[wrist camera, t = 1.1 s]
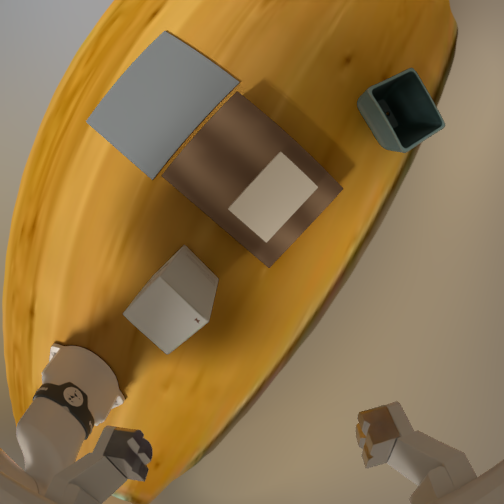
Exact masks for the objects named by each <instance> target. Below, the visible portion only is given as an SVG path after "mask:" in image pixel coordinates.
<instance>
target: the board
mask: <svg viewBox="0 0 504 504" xmlns="http://www.w3.org/2000/svg"><path fill="white" fill-rule="evenodd" d="M279 152H282V153H283V154H284V155H285V156H286V157H287V158H288V159H289V160H291V161H292V162H293V163H294V164H295V165H296V166H297V167H298V168H299V169H300V170H301V171H302V172H303V173H304V174H305V175H306V176H307V177H308V178H309V179H311V180H312V181H313V182H314V183H315V184H316V185H317V186H318V188H317V189H316V190H315V191H314V192H313V193H312V195H311V196H310V197H309V198H308V199H307V200H306V201H305V202H304V203H303V204H302V205H301V206H300V207H299V208H298V210H297V211H296V212H295V213H294V214H293V215H292V216H291V217H290V218H289V219H288V220H287V221H286V222H285V223H284V225H283V226H282V227H281V228H280V229H279V230H278V231H277V232H276V233H275V234H274V235H273V236H272V237H271V238H270V240H269V241H268V242H267V243H266V242H265V241H264V240H263V239H261V238H260V237H259V236H258V235H257V234H256V233H255V232H254V231H252V230H251V229H250V228H249V227H248V226H247V225H246V224H244V223H243V222H242V221H241V220H240V219H239V218H237V217H236V216H235V215H234V214H233V213H232V212H231V211H229V210H228V208H229V206H230V205H231V204H232V203H233V202H234V201H235V200H236V199H237V197H238V196H239V195H240V194H241V193H242V192H243V191H244V190H245V189H246V187H247V186H248V185H249V184H250V183H251V182H252V181H253V180H254V179H255V178H256V177H257V175H258V174H259V173H260V172H261V171H262V170H263V169H264V168H265V167H266V166H267V165H268V164H269V163H270V161H271V160H272V159H273V158H274V157H275V156H276V155H277V154H278V153H279ZM162 177H163V178H165V179H166V180H167V181H168V182H169V183H170V184H172V185H173V186H174V187H175V188H176V189H177V190H179V191H180V192H181V193H182V194H183V195H184V196H186V197H187V198H188V199H189V200H190V201H191V202H193V203H194V204H195V205H196V206H197V207H198V208H200V209H201V210H202V211H203V212H204V213H205V214H207V215H208V216H209V217H210V218H211V219H212V220H214V221H215V222H216V223H217V224H218V225H219V226H221V227H222V228H223V229H224V230H225V231H226V232H228V233H229V234H230V235H231V236H232V237H233V238H235V239H236V240H237V241H238V242H239V243H240V244H242V245H243V246H244V247H245V248H246V249H247V250H249V251H250V252H251V253H252V254H253V255H254V256H256V257H257V258H258V259H259V260H260V261H261V262H263V263H264V264H265V265H266V266H267V267H268V268H270V267H271V266H272V265H273V263H274V262H275V261H276V260H277V259H278V258H279V257H280V256H281V255H282V254H283V253H284V252H285V251H286V250H287V249H288V248H289V247H290V246H291V245H292V244H293V242H294V241H295V240H296V239H297V238H298V237H299V236H300V235H301V234H302V233H303V232H304V231H305V230H306V229H307V228H308V227H309V226H310V224H311V223H312V222H313V221H314V220H315V219H316V218H317V217H318V216H319V215H320V214H321V213H322V212H323V210H324V209H325V208H326V207H327V206H328V205H329V204H330V203H331V202H332V201H333V200H334V199H335V198H336V196H337V195H338V194H339V193H340V192H341V191H342V190H343V188H342V187H341V186H340V185H339V184H338V182H337V181H336V180H335V179H334V178H333V177H332V176H331V175H330V174H329V173H328V172H327V171H326V170H325V169H324V168H323V167H322V166H321V165H320V164H319V163H318V162H317V161H316V160H315V159H314V158H313V157H312V156H311V155H310V154H309V153H307V152H306V151H305V150H304V149H303V148H302V147H301V146H300V145H299V144H298V143H297V142H296V141H295V140H294V139H293V138H291V137H290V136H289V135H288V134H287V133H286V132H285V131H284V130H283V129H282V128H280V127H279V126H278V125H277V124H276V123H275V122H274V121H272V120H271V119H270V118H269V117H268V116H267V115H265V114H264V113H263V112H262V111H261V110H260V109H258V108H257V107H256V106H255V105H254V104H252V103H251V102H250V101H249V100H247V99H246V98H245V97H244V96H242V95H241V94H240V93H239V92H236V93H235V94H234V95H233V96H232V97H231V98H230V99H229V100H228V101H227V102H226V103H225V104H224V105H223V106H222V107H221V108H220V109H219V110H218V111H217V112H216V113H215V114H214V115H213V117H212V118H211V119H210V120H209V121H208V122H207V123H206V124H205V125H204V126H203V127H202V129H201V130H200V131H199V132H198V133H197V134H196V135H195V136H194V137H193V139H192V140H191V141H190V142H189V143H188V144H187V146H186V147H185V148H184V149H183V150H182V151H181V153H180V154H179V155H178V156H177V157H176V159H175V160H174V161H173V162H172V163H171V165H170V166H169V167H168V168H167V170H166V171H165V172H164V173H163V175H162Z"/></svg>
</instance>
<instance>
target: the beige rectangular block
mask: <svg viewBox="0 0 504 504" xmlns="http://www.w3.org/2000/svg"><path fill="white" fill-rule="evenodd" d="M317 188H318V186H317V185H316V184H315V183H314V182H313V181H312V180H311V179H309V178H308V177H307V176H306V175H305V174H304V173H303V172H302V171H301V170H300V169H299V168H298V167H297V166H296V165H295V164H294V163H293V162H292V161H291V160H289V159H288V158H287V157H286V156H285V155H284V154H283V153H282V152H279V153H278V154H277V155H276V156H275V157H274V158H273V159H272V160H271V161H270V163H269V164H268V165H267V166H266V167H265V168H264V169H263V170H262V171H261V172H260V173H259V174H258V175H257V177H256V178H255V179H254V180H253V181H252V182H251V183H250V184H249V185H248V186H247V187H246V189H245V190H244V191H243V192H242V193H241V194H240V195H239V196H238V197H237V199H236V200H235V201H234V202H233V203H232V204H231V205H230V206H229V208H228V210H229V211H231V212H232V213H233V214H234V215H235V216H236V217H237V218H239V219H240V220H241V221H242V222H243V223H244V224H246V225H247V226H248V227H249V228H250V229H251V230H252V231H254V232H255V233H256V234H257V235H258V236H259V237H260V238H261V239H263V240H264V241H265V242H266V243H267V242H268V241H269V240H270V238H271V237H272V236H273V235H274V234H275V233H276V232H277V231H278V230H279V229H280V228H281V227H282V226H283V225H284V223H285V222H286V221H287V220H288V219H289V218H290V217H291V216H292V215H293V214H294V213H295V212H296V211H297V210H298V208H299V207H300V206H301V205H302V204H303V203H304V202H305V201H306V200H307V199H308V198H309V197H310V196H311V195H312V193H313V192H314V191H315V190H316V189H317Z"/></svg>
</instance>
